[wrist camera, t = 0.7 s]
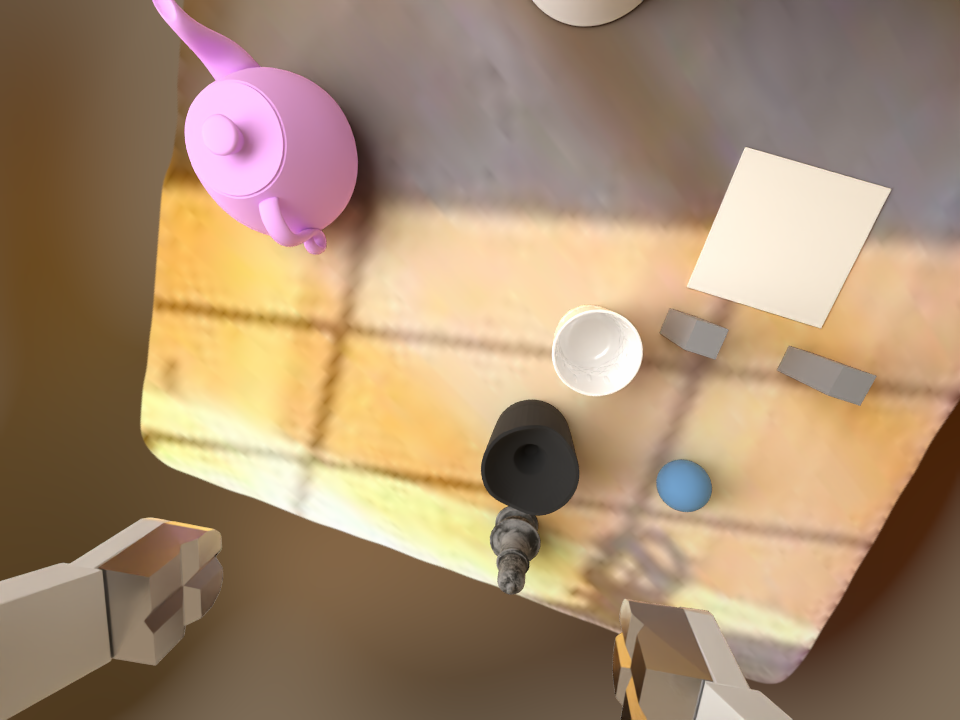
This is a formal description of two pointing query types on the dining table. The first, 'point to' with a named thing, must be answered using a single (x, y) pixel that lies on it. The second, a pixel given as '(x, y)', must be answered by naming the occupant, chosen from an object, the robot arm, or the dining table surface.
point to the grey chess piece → (514, 547)
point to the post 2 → (826, 375)
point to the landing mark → (786, 237)
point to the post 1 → (693, 333)
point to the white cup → (596, 350)
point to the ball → (684, 485)
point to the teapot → (266, 141)
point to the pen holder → (531, 459)
